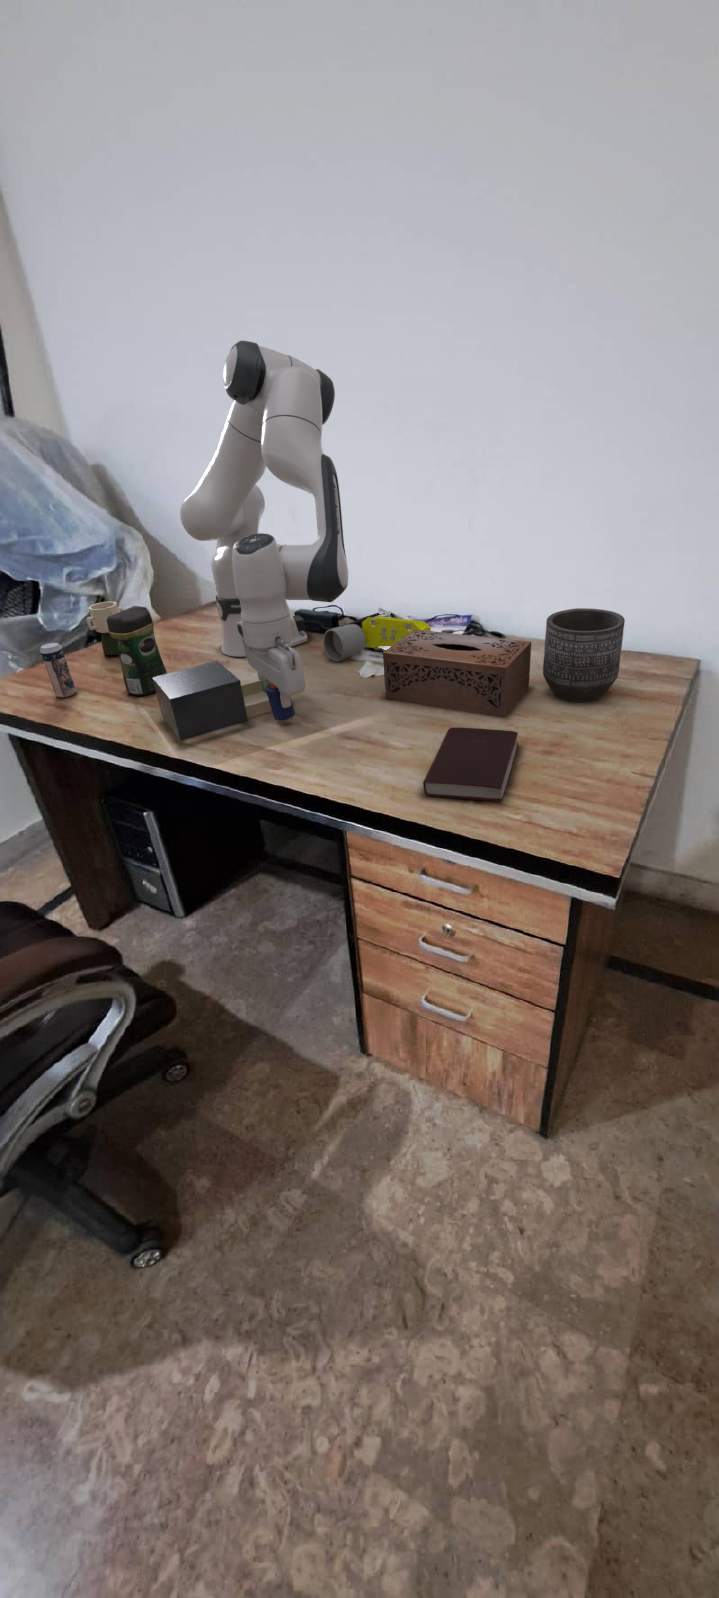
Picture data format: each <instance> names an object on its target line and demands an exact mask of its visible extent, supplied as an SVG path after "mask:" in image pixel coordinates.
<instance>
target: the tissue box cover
mask: <svg viewBox="0 0 719 1598" xmlns="http://www.w3.org/2000/svg"><path fill="white" fill-rule="evenodd" d="M531 655H532V641H530V640H520V639H509V638H500V637H491V636H483V635H482V636H481V635H472V634H463V633H462V634H461V633H451V632H444V631H443V632H442V631H433V630H431V631H424V630H413V631H412V632H411V633H409V634H408V635H406V636H405V637H404V638H402V639H401V640H400V641H398V642H397V643H396V644H394V645H393V646H391V647H390V648H389V649H387V650H386V651H385V652H384V651H382V661H383V675H384V676H383V677H384V689H385V690H384V691H385V699H387V700H393V701H399V702H404V703H405V702H406V703H411V704H419V705H424V706H429V707H436V708H444V709H450V710H457V711H463V712H468V713H469V712H470V713H474V714H482V715H487V716H493V717H499V718H506V716H507V715H508V714H509V713H510V712H511V710H512V709H513V708H514V707H515V706H516V705H517V703H518V702H519V701H520V699H521V698H522V697H523V696H524V695H525V693H527V691H528V690H529V689H530V676H531V675H530V673H531V659H532V658H531V657H532V656H531Z"/></svg>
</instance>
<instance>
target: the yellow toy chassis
mask: <svg viewBox="0 0 719 1598" xmlns="http://www.w3.org/2000/svg"><path fill="white" fill-rule="evenodd" d="M361 626H362V627H361V628H362V630H363V631H364V633H365V636H366V646H365V648H370V649H371V648H372V649H373V651H378V652H379V651H382V652H385V651H386V650H384V649H382V648H375V647H379V646H393V645H394V644H396V643H397V642H398V641H400V640H401V639H402V638H404V637H405V636H406V635H408V634H409V633H411V632H412V631H413V630H424V631H432V628H431V626H430V625H428V624H427V623H426V622H425V621H424V620H415V619H407V618H399V617H398V618H396V617H390V616H389V617H388V616H381V615H378V616H376V617H368V618H367V619H366V620H364V621H362V622H361Z"/></svg>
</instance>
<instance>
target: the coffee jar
mask: <svg viewBox="0 0 719 1598" xmlns="http://www.w3.org/2000/svg"><path fill="white" fill-rule="evenodd" d="M107 624H108V630H109V634H110V635H111V637H112V638H113V639H114V641H115V644H116V647H117V650H118V654H117V655H118V658H119V662H120V668H121V672H122V678H123V682H124V687H125V690H126V692H127V693H128V694H131V696H137V697H140V696H148V695H151V694H153V693H156V691H155V687H154V683H153V679H152V677H156V676H160V675H164V674H168V672H167V669H166V667H165V664H164V661H163V659H162V656H161V653H160V651H159V650H160V649H159V647H158V644H157V641H156V637H155V627H154V620H153V617H152V615H151V612H150V611H149V609H148V608H147V607H145V606H140V605H139V606H138V605H133V606H130V607H128V608H125V609H124V610H123V611H121V612H120V611H119V613H116V614H114V615H111V616H108V617H107Z"/></svg>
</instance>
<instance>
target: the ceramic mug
mask: <svg viewBox="0 0 719 1598" xmlns="http://www.w3.org/2000/svg"><path fill="white" fill-rule="evenodd" d="M344 625H345V624H344ZM340 626H341V627H338V626H336V627H337V628H333V627H332V628H333V629H329V630H325V633H324V636H323V640H322V641H323V649H324V652H325V653H326V655H327V656H328V658H329V659H330V660H331V661H334V662H340V661H343V660H346V659H348V658H351V657H354V656H356V655H358V654H360V653H362V652H363V651H364V650H365V648H366V647H365V646H366V636H365V633H364V631H363V629H362V627H361V626H360V625H359V624H349V625H345V626H342V625H340Z"/></svg>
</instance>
